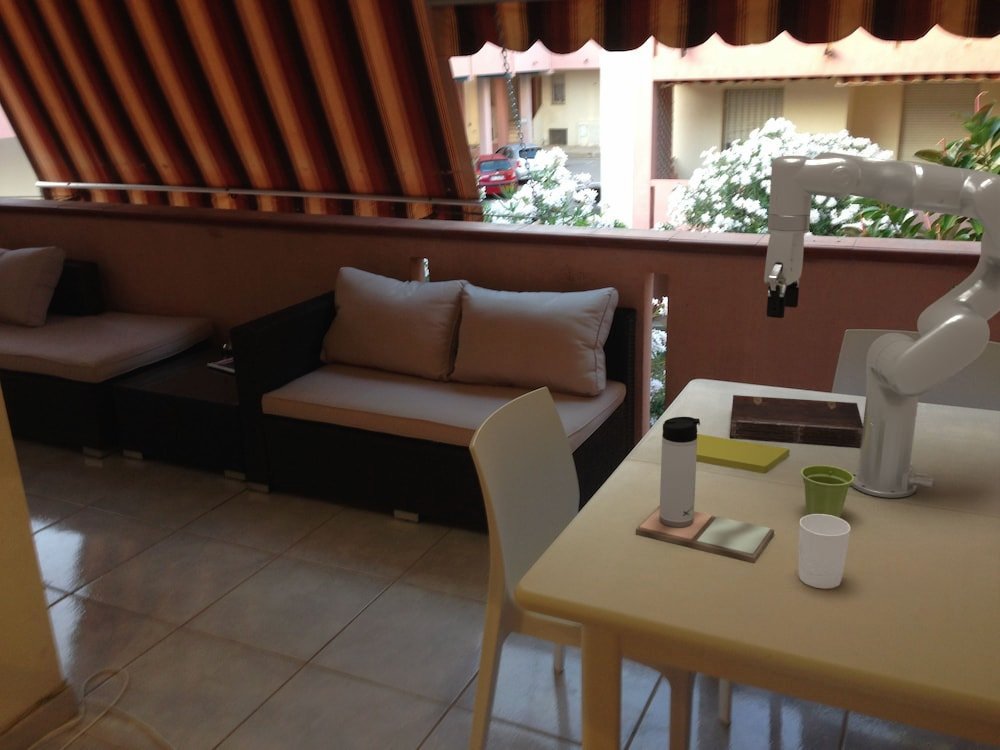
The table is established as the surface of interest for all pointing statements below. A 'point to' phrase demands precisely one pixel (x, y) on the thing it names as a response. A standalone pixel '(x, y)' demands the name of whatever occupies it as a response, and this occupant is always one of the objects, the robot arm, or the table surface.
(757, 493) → the table surface
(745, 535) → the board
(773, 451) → the flat olive board
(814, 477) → the plant pot
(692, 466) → the travel mug
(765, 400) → the hardback book
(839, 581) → the white cup
